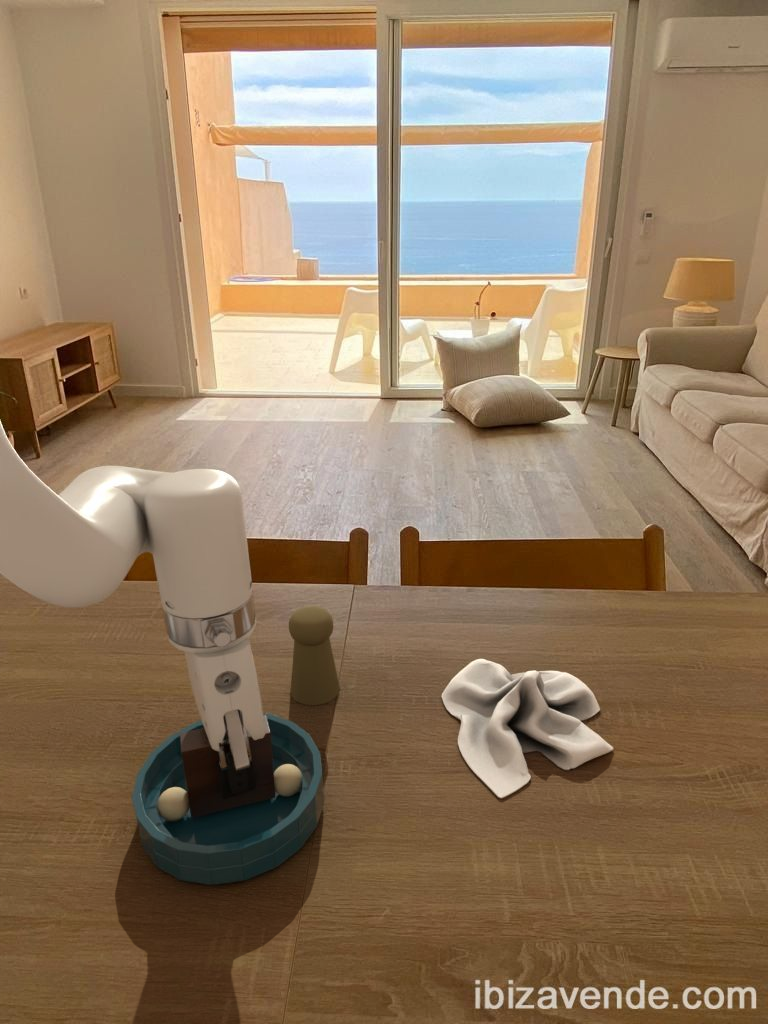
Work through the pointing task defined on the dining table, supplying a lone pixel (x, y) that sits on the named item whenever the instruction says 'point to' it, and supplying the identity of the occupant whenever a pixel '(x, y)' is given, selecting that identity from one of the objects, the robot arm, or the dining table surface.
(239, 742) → the robot arm
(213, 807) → the brown brick
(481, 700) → the cloth
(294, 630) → the olive chess pawn
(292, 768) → the dough ball
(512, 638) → the dining table surface
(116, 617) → the dining table surface
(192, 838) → the bowl
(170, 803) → the dough ball
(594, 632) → the dining table surface
